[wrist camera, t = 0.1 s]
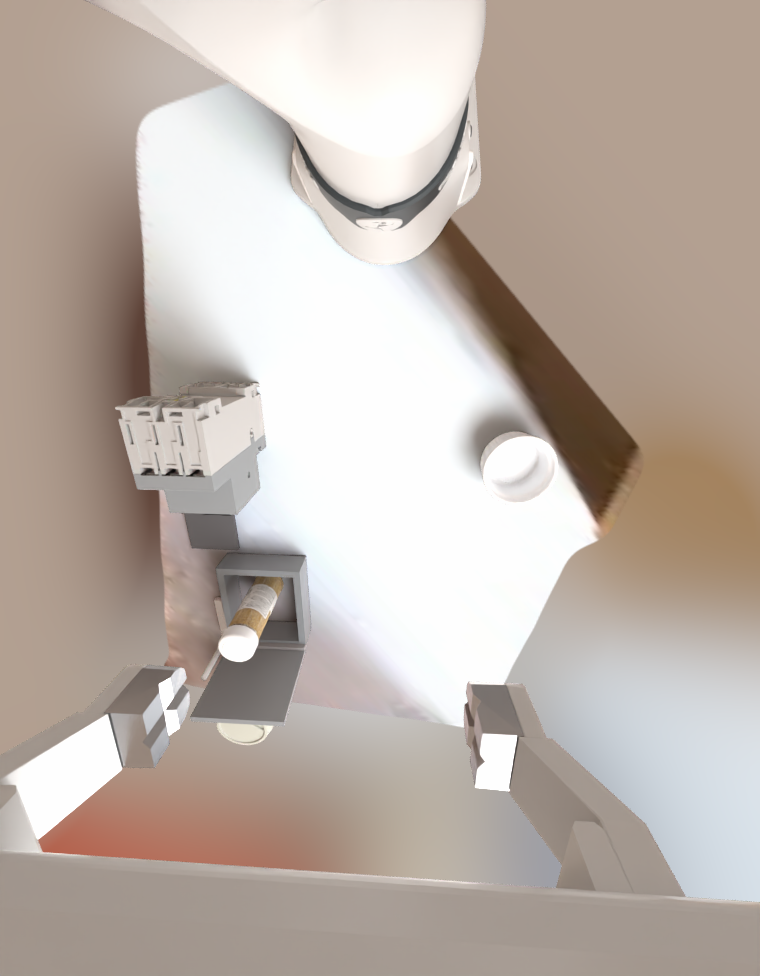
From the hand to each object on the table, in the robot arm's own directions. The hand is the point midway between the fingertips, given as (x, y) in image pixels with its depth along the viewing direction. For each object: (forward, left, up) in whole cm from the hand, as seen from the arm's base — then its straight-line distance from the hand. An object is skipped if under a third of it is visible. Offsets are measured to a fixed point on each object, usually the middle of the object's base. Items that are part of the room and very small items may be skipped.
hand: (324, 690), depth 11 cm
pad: (+17, -25, -39) cm, 49 cm away
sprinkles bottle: (+27, -17, -39) cm, 50 cm away
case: (+29, -17, -39) cm, 51 cm away
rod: (+34, -26, -39) cm, 58 cm away
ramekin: (+6, +17, -39) cm, 43 cm away
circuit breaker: (+4, -19, -39) cm, 44 cm away
